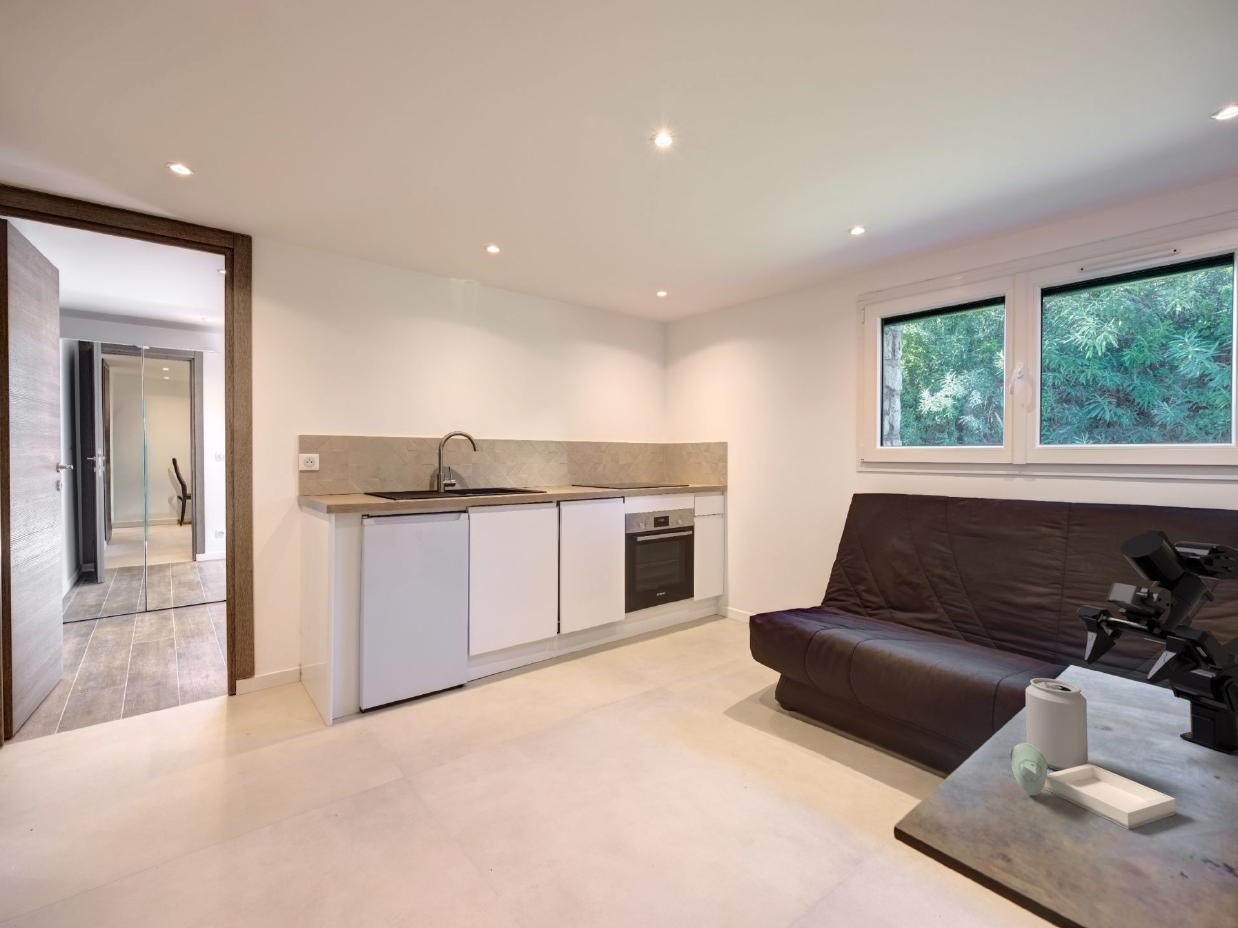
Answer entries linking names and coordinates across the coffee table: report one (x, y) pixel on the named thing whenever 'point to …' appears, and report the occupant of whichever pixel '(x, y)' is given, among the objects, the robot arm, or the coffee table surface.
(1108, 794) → the tray
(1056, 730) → the can
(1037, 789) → the green oval piece
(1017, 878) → the coffee table surface
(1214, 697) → the robot arm
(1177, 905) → the coffee table surface
